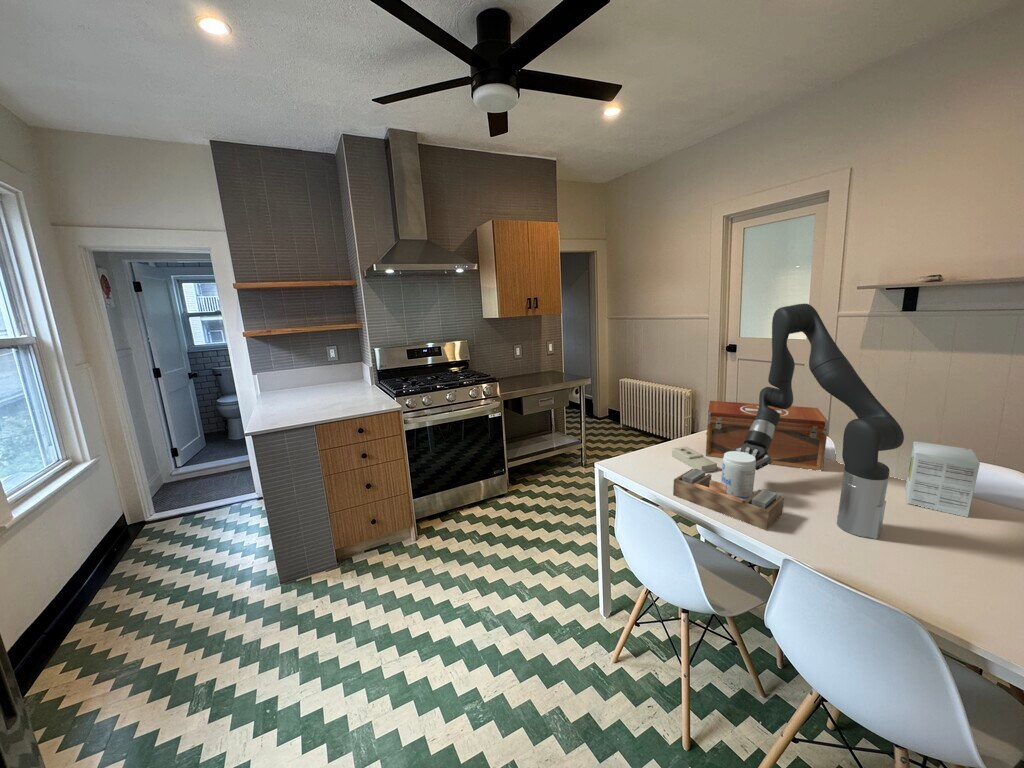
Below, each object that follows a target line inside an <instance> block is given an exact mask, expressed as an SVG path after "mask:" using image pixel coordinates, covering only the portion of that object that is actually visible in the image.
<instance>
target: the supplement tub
mask: <svg viewBox="0 0 1024 768" xmlns="http://www.w3.org/2000/svg"><path fill="white" fill-rule="evenodd" d="M755 468H756V458H755V457H754V456H752V455H750V454H748V453H744V452H739V451H729V452H726V453H725V454H724V458H722V468H721V478H720V479H721V480H720V481H721V482H720V483H722V484H725V485H727V491H726V493H727V494H730V495H733V496H736V497H739V498H742V499H744V501H745V500H746V499H748V498H749V497H750V496H751V495H753V494H754V484H755V477H756V476H755V475H756V469H755Z"/></svg>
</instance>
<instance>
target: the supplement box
mask: <svg viewBox="0 0 1024 768" xmlns="http://www.w3.org/2000/svg"><path fill="white" fill-rule="evenodd" d="M911 447H912V448H911V455H910V461H909V466H908V471H907V472H908V473H907V477H906V485H905V499H906V498H907V500H906V504H907V503H910V504H914V505H913V506H915V505H918V506H917V507H919V506H921V508H924V507H925V508H924V509H928V508H930V509H929V510H932V509H934V510H933V511H937V510H938V511H937V512H941V511H942V512H941V513H946V514H950V513H951V515H955V514H956V516H959V515H961V516H960V517H963V516H965V517H964V518H969V514H970V511H971V505H972V500H973V496H974V491H975V488H976V484H977V480H978V479H977V478H978V474H979V469H980V465H981V463H980V461H979V458H978V457H977V455H976V453H975V451H974V450H973V449H971V448H965V447H959V446H958V447H957V446H952V445H945V444H944V445H943V444H938V443H930V442H924V441H916V440H913V442H912V446H911ZM910 504H909V505H910Z"/></svg>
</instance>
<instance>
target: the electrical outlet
mask: <svg viewBox="0 0 1024 768" xmlns="http://www.w3.org/2000/svg"><path fill="white" fill-rule="evenodd" d="M671 457H672V458H674V459H675V460H677V461H679V462H680V463H681V462H682V463H683V464H685V465H687V466H689V467H690V468H691V469H695V468H696V469H699V470H702V471H705V473H708V472H714V471H717V470H718V463H717V462H715V461H713V460H711V459H709V458H708V457H706V456H704V454H703V453H700V452H698V451H696V450H695V449H692V448H691V447H688V446H679V447H674V448H672V450H671Z"/></svg>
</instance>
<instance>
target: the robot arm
mask: <svg viewBox="0 0 1024 768" xmlns="http://www.w3.org/2000/svg"><path fill="white" fill-rule="evenodd" d="M821 318H822V317H820V315H819V313H818V311H817V310H816V309H815V307H814V306H812V304H809V303H798V304H793V305H786V306H782V307H779V308H777V309H776V310H775V311H774V313H773V316H772V321H771V363H770V367H769V368H770V369H769V372H768V380H767V381H768V383H769V384H770V385H771V386H772V387H771V386H765V387H763V388H762V389H761V390H760V392H759V396H758V397H759V398H758V399H759V400H758V404H759V409H758V413H757V415H756V417H755V420H754V422H753V424H752V425H751V427H750V429H749V432H748V434H747V436H746V439H745V441H744V444H743V445H742V446H741V447H740V448H738V449H736V448H733V451H739V452H741V451H742V452H744V453H748V454H750V455H752V456H754V457H755V458H756V468H755V471H759V470H761V469H763V468H764V467H766V466H768V465H769V464H770V463H772V460H771V458H770V457H768V453H767V450H768V448H769V446H770V443H771V441H772V439H773V437H774V433H775V429H776V426H777V424H778V421H779V419H780V414H779V413H778V412H777V411H775V410H773V409H771V408H769V407H768V406H771V407H775V408H779V409H788V408H789V407H791V406H793V402H794V394H793V393H794V392H793V389H792V386H793V385H792V381H793V377H794V372H795V366H796V365H795V360H794V357H793V355H792V353H791V352H790V350H789V348H788V340H789V339H788V338H789V335H791V334H797V333H803V334H804V336H805V337H806V338H807V340H808V341H809V344H810V354H809V359H808V367H809V370H810V373H811V374H812V375H813V377H814V378H815V380H816V382H817V383H818V385H819V386H820V387H821V388H822V389H823V390H825V392H827V393H828V394H830V396H833V397H834V398H835V399H837V400H839V401H840V402H842V403H843V404H844V405H846V407H848V408H849V409H850V410H851V411H852V413H854V414H855V416H856V417H857V418H855V419H852V420H850V421H848V422H847V424H846V426H845V428H844V432H843V437H842V455H841V456H842V461H843V463H844V467H843V476H842V482H841V488H840V489H841V490H840V496H839V497H840V498H839V505H838V511H837V512H838V513H837V516H836V517H837V519H836V525H837V526H838V528H840V529H842V530H843V531H845V532H847V533H849V534H852V535H854V536H858V537H863V538H871V539H874V540H878V538H879V536H880V534H881V533H882V528H883V522H884V516H885V512H886V511H885V510H886V506H887V505H886V504H887V501H886V496H887V489H888V485H889V479H890V467H889V466H888V465H887V464H885V463H883V462H880V461H879V452H883V451H891V450H895V449H898V448H900V447H901V446H902V445H903V443H904V441H905V440H904V439H905V434H904V431H903V428H902V427H901V425H900V424H899V422H898V420H896V419H895V418H894V417H893V415H892V414H891V413H890V412H889V411H888V410H887V409H886V408H885V407H884V406H883V405H882V404H881V402H880V401H879V400H878V399H877V397H875V396H874V394H873V393H872V392H871V390H870V389H869V387H868V386H867V385H866V383H864V381H863V380H862V378H861V377H860V376H859V374H858V373H857V372H856V370H855V367H854V366H853V365H852V364H851V362H850V361H849V360H848V357H846V356H845V355H844V353H843V352H842V351H841V349H840V348H839V347H838V345H837V343H836V342H835V341H834V339H833V338H832V336H831V334H830V332H829V330H828V329H827V327H826V326H825V323H824V322H823V319H821ZM761 459H763V460H761ZM759 460H761V461H759ZM757 461H759V462H757Z"/></svg>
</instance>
